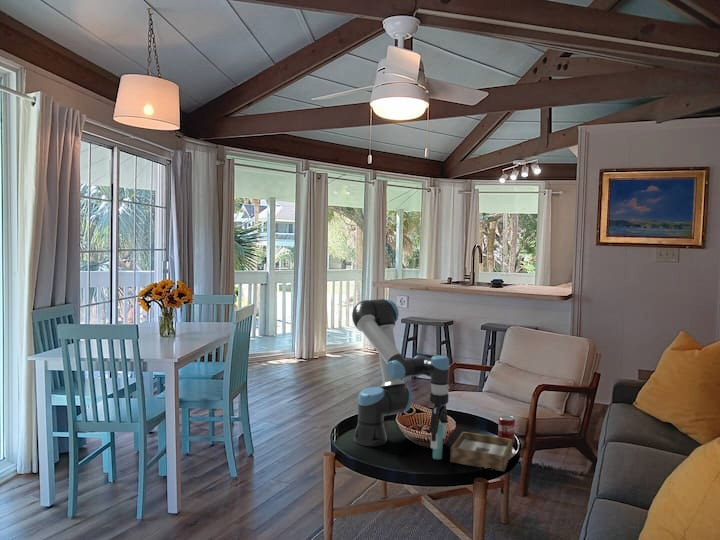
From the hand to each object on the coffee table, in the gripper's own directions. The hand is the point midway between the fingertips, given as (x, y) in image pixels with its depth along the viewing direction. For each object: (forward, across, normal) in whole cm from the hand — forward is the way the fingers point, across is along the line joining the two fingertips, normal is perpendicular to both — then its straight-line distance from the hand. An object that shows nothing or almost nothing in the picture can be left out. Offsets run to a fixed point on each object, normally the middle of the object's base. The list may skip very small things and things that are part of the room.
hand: (438, 443), depth 235 cm
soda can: (+7, +30, -24) cm, 39 cm away
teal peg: (+6, 0, 0) cm, 6 cm away
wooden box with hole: (+7, +9, -17) cm, 20 cm away
